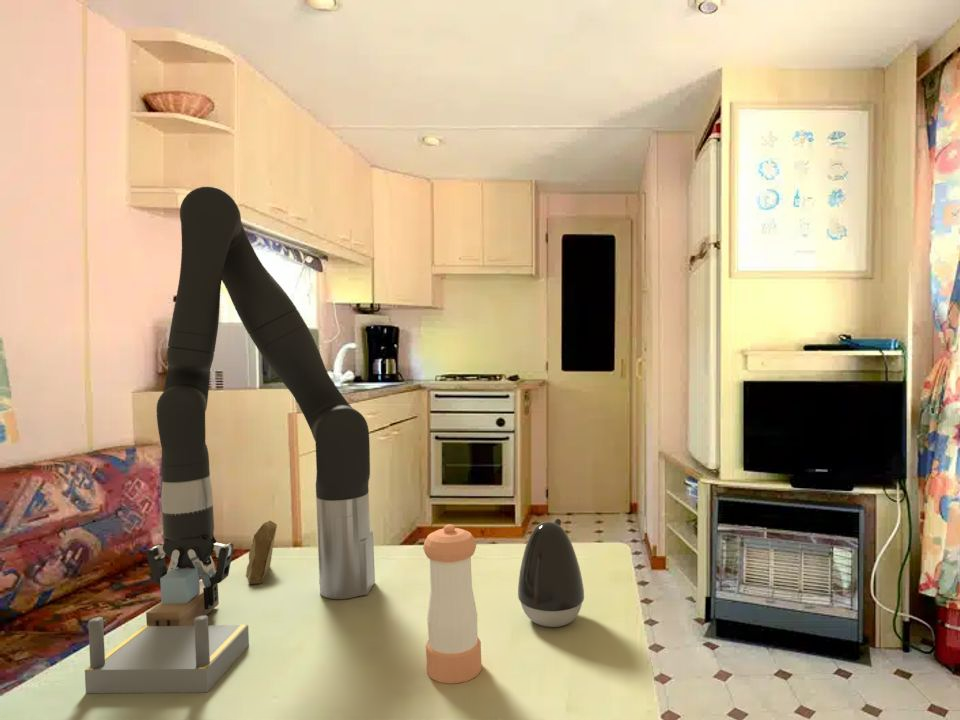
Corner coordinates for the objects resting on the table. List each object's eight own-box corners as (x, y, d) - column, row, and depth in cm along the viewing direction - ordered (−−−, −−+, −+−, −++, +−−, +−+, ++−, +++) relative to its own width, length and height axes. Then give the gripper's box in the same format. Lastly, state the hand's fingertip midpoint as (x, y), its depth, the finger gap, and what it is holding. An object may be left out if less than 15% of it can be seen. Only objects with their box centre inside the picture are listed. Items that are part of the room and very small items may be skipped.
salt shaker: (446, 650, 83) (441, 515, 83) (491, 662, 80) (486, 520, 79) (415, 675, 77) (410, 529, 77) (462, 689, 73) (457, 536, 73)
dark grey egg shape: (592, 610, 94) (589, 516, 94) (574, 640, 85) (571, 535, 85) (532, 601, 98) (529, 510, 98) (509, 628, 89) (505, 528, 89)
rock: (270, 575, 109) (299, 550, 118) (241, 539, 109) (272, 516, 118) (234, 605, 112) (265, 578, 121) (206, 569, 112) (239, 545, 121)
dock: (249, 645, 87) (246, 584, 87) (207, 692, 75) (204, 621, 75) (143, 646, 87) (140, 586, 87) (85, 693, 75) (82, 623, 75)
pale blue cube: (175, 593, 96) (174, 568, 96) (199, 592, 96) (198, 568, 96) (161, 603, 92) (160, 578, 92) (186, 603, 92) (185, 577, 92)
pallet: (190, 604, 101) (189, 581, 101) (218, 604, 101) (217, 580, 101) (147, 639, 89) (146, 612, 89) (179, 638, 89) (178, 612, 89)
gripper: (240, 498, 100) (245, 597, 101) (158, 501, 101) (164, 599, 101) (219, 510, 93) (224, 617, 93) (131, 513, 94) (136, 619, 94)
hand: (193, 607), depth 97 cm, fingers closed on pallet, 5 cm apart
